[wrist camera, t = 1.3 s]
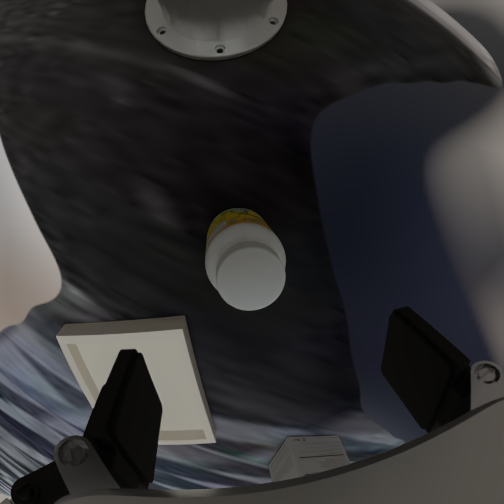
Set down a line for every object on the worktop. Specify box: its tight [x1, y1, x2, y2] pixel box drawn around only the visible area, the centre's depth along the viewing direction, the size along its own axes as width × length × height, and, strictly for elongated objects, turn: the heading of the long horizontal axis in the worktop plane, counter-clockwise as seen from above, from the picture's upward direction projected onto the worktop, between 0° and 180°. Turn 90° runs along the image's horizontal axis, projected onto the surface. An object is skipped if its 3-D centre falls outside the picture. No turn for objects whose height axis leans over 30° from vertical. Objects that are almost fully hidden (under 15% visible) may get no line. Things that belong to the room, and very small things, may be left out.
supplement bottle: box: [205, 208, 286, 311], centre depth 21 cm, size 5×5×10 cm
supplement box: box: [269, 435, 351, 482], centre depth 30 cm, size 9×9×15 cm
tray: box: [56, 315, 216, 445], centre depth 28 cm, size 18×14×2 cm
